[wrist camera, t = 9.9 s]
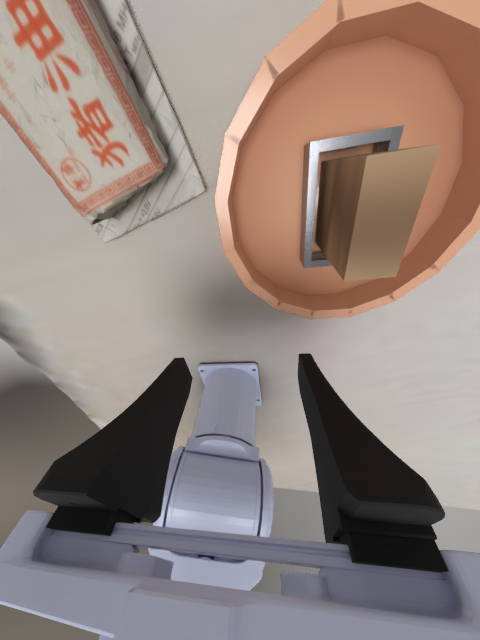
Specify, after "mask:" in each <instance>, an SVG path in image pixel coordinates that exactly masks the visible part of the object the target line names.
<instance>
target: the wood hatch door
mask: <svg viewBox="0 0 480 640" xmlns="http://www.w3.org/2000/svg"><path fill="white" fill-rule="evenodd" d="M440 147H441V144H435V145H427V146H420V147H413V148H406V149H398V150H391V151H384V152H377V153H370V154H362V155H356V156H350V157H344V158H338V159H332V160H326V161H321V170H320V182H319V195H318V207H317V220H316V233H315V243H316V244H317V245H318V247H319V248H320V249H321V251H322V252H323V253H324V255H325V256H326V258H327V259H328V260H329V262H330V263H331V264H332V266H333V267H334V268H335V270H336V271H337V273H338V274H339V275H340V277H341V278H342V279H343V281H354V280H366V279H378V278H390V277H396V275H397V273H398V270H399V267H400V264H401V261H402V258H403V255H404V252H405V249H406V246H407V243H408V240H409V238H410V235H411V232H412V229H413V226H414V223H415V220H416V217H417V214H418V211H419V208H420V205H421V203H422V200H423V197H424V194H425V191H426V188H427V185H428V182H429V179H430V176H431V173H432V170H433V168H434V165H435V162H436V159H437V156H438V153H439V150H440Z"/></svg>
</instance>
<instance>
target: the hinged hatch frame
mask: <svg viewBox="0 0 480 640" xmlns="http://www.w3.org/2000/svg"><path fill="white" fill-rule="evenodd" d="M403 128H404V125H401V126H396V127H390V128H385V129H379V130H374V131H368V132H363V133H357V134H352V135H346V136H341V137H335V138H330V139H324V140H319V141H313V142H309V143H308V144H306V145H304V160H303V186H302V211H301V237H300V261H301V263H302V265H303V268H312V267H323V266H332V264H331V263H330V262H329V260H328V259H327V258H326V256H325V255H324V253H323V252H322V251H312V242H313V229H314V215H315V201H316V188H317V174H318V160H319V153H322V152H328V151H334V150H340V149H345V148H351V147H357V146H363V145H368V144H374V145H373V150H372V153H377V152H384V151H391V150H398V148H399V144H400V140H401V136H402V132H403Z"/></svg>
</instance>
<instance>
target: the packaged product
mask: <svg viewBox="0 0 480 640" xmlns="http://www.w3.org/2000/svg"><path fill="white" fill-rule="evenodd" d="M0 113H1V114H2V116H3V117H4V118H5V119H6V120H7V122H8V123H9V124H10V126H11V127H12V128H13V129H14V131H15V132H16V133H17V134H18V136H19V137H20V139H21V140H22V142H23V143H24V144H25V145H26V147H27V148H28V149H29V150H30V152H31V153H32V154H33V155H34V157H35V158H36V159H37V160H38V162H39V163H40V164H41V165H42V167H43V168H44V169H45V170H46V172H47V173H48V174H49V175H50V176H51V177H52V178H53V180H54V181H55V183H56V184H57V186H58V187H59V189H60V190H61V192H62V193H63V195H64V196H65V197H66V198H67V199H68V201H69V202H70V203H71V205H72V206H73V208H74V209H75V210H76V211H77V212H79V214H80V215H81V217H82V218H83V219H84V220H86V221H87V222H89V223H90V224H91V226H92V227H93V228H94V230H95V231H96V232H97V234H98V235H99V237H100V238H101V239H102V241H103V242H105V243H107V242H109V241H111V240H114V239H116V238H118V237H121V236H123V235H125V234H126V233H128V232H130V231H131V230H133V229H135V228H136V227H138V226H140V225H142V224H144V223H147V222H149V221H151V220H154V219H156V218H158V217H160V216H162V215H164V214H166V213H168V212H170V211H172V210H174V209H176V208H178V207H180V206H182V205H184V204H185V203H187V202H188V201H190V200H191V199H193V198H194V197H196V196H198V195H199V194H201V193H202V192H204V191H206V187H205V185H204V182H203V180H202V177H201V175H200V172H199V170H198V167H197V165H196V162H195V160H194V157H193V155H192V152H191V150H190V148H189V145H188V143H187V140H186V138H185V135H184V133H183V131H182V128H181V126H180V123H179V121H178V119H177V117H176V115H175V113H174V111H173V109H172V107H171V105H170V103H169V101H168V99H167V97H166V94H165V92H164V90H163V87H162V85H161V83H160V80H159V78H158V75H157V73H156V71H155V68H154V66H153V64H152V61H151V59H150V56H149V54H148V52H147V49H146V47H145V44H144V42H143V40H142V37H141V35H140V33H139V30H138V28H137V26H136V24H135V21H134V19H133V17H132V14H131V12H130V9H129V7H128V4H127V2H126V0H0Z"/></svg>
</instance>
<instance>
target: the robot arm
mask: <svg viewBox="0 0 480 640" xmlns="http://www.w3.org/2000/svg"><path fill="white" fill-rule="evenodd" d="M198 371H199V373H200V376H201V378H202V381H203V383H204V389H203V393H202V397H201V400H200V404H199V408H198V412H197V416H196V419H195V423H194V427H193V431H192V435H191V437H188V439H187V442H186V446H185V447H182V446H180V447H178V448H177V450H175V451H174V452H173V453H172V449H173V445H174V441H175V436H176V433H177V429H178V426H179V423H180V420H181V417H182V414H183V411H184V408H185V405H186V402H187V399H188V396H189V393H190V388H191V383H192V376H191V373H190V371H189V369H188V366H187V364H186V362H185V360H184V358H174V360H173V361H172V362H171V363H170V364H169V365H168V366H167V367H166V369H165V370H164V371H163V372H162V373H161V374H160V375H159V377H158V378H157V379H156V380H155V381H154V382H153V383H152V384H151V385H150V386H149V387H148V388H147V390H146V391H145V392H144V393H143V394H142V395H141V396H140V397H139V398H138V399H137V400H136V401H135V402H134V403H132V404H131V405H130V406H129V407H128V408H127V409H126V410H125V411H124V412H122V413H121V414H120V415H119V416H118V417H117V418H115V419H114V420H113V421H112V422H110V423H109V424H108V425H107V426H105V427H104V428H103V429H101V430H100V431H99V432H98V433H96V434H95V435H94V436H92V437H91V438H89V439H88V440H86V441H85V442H84V443H82V444H81V445H79V446H78V447H76V448H75V449H73V450H71V451H70V452H68V453H67V454H65V455H64V456H62V457H61V458H59V459H57V460H56V461H54V463H53V464H52V466H51V467H50V469H49V470H48V471H47V473H46V474H45V476H44V477H43V478H42V480H41V481H40V483H39V484H38V486H37V487H36V488H35V490H34V491H33V493H34V496H36V497H38V498H40V499H42V500H45V501H47V502H50V503H52V504H55V505H57V506H58V508H57V510H56V511H55V513H51V512H44V511H34V510H28V511H26V512H25V514H24V515H23V517H22V518H21V520H20V521H19V523H18V524H17V526H16V527H15V528H14V530H13V531H12V533H11V534H10V536H9V537H8V539H7V540H6V542H5V543H4V545H3V546H2V548H1V549H0V604H2V605H5V606H9V607H13V608H16V609H19V610H23V611H26V612H29V613H32V614H36V615H39V616H42V617H45V618H49V619H52V620H56V621H59V622H62V623H65V624H68V625H72V626H75V627H78V628H81V629H85V630H88V631H91V632H94V633H98V634H100V637H99V640H480V553H474V552H463V551H454V550H440V551H439V549H438V547H437V545H436V543H435V540H436V539H437V537H436V534H435V532H434V530H433V528H432V526H431V525H432V524H434V523H436V522H438V521H440V520H442V519H443V518H444V517H445V512H444V510H443V508H442V506H441V504H440V503H439V501H438V499H437V497H436V496H435V494H434V493H433V491H432V490H431V488H430V487H429V485H428V484H427V482H426V481H425V479H423V478H422V477H421V476H420V475H419V474H417V473H416V472H415V471H414V470H413V469H411V468H410V467H409V466H408V465H407V464H406V463H404V462H403V461H402V460H401V459H400V458H399V457H397V456H396V455H395V454H394V453H393V452H392V451H391V450H390V449H389V448H387V447H386V446H385V445H384V444H383V443H382V442H381V441H380V440H379V439H378V438H377V437H376V436H375V435H374V434H373V433H372V432H371V431H370V430H369V429H368V428H367V427H366V426H365V425H364V424H363V423H362V422H361V421H360V420H359V419H358V418H357V417H356V416H355V415H354V414H353V412H352V411H351V410H350V409H349V408H348V407H347V406H346V404H345V403H344V402H343V401H342V400H341V398H340V397H339V396H338V395H337V393H336V392H335V391H334V389H333V388H332V387H331V385H330V384H329V382H328V381H327V380H326V378H325V377H324V375H323V374H322V372H321V371H320V369H319V367H318V366H317V364H316V362H315V361H314V359H313V357H312V355H311V354H299V363H298V381H299V388H300V394H301V398H302V403H303V407H304V411H305V415H306V419H307V423H308V427H309V431H310V436H311V441H312V448H313V454H314V461H315V467H316V474H317V481H318V488H319V495H320V503H321V510H322V518H323V525H324V534H325V540H326V543H322V542H312V541H301V540H291V539H282V538H272V537H269V535H270V532H271V526H272V519H273V518H272V517H273V482H272V475H271V471H270V468H269V467H268V465H267V463H266V461H265V460H264V459H261V458H259V448H257V447H255V438H256V406H261V405H262V398H261V390H260V382H259V374H258V367H257V364H256V363H227V364H200V365H198ZM134 522H136V523H141V522H151V523H153V526H149V525H140V524H133V523H134ZM138 547H142V548H148V550H149V553H150V555H146V554H140V553H139V548H138ZM265 562H271V563H279V564H287V565H297V566H305V567H314V568H322V569H321V570H320V571H319V573H318V575H317V574H311V573H300V572H284V571H282V573H281V595H274V594H268V593H261V592H254V591H250V590H251V589H252V588H253V587H254V586H255V585H256V584H257V583H258V582H259V581H260V579H261V578H262V570H263V568H264V566H265Z"/></svg>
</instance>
